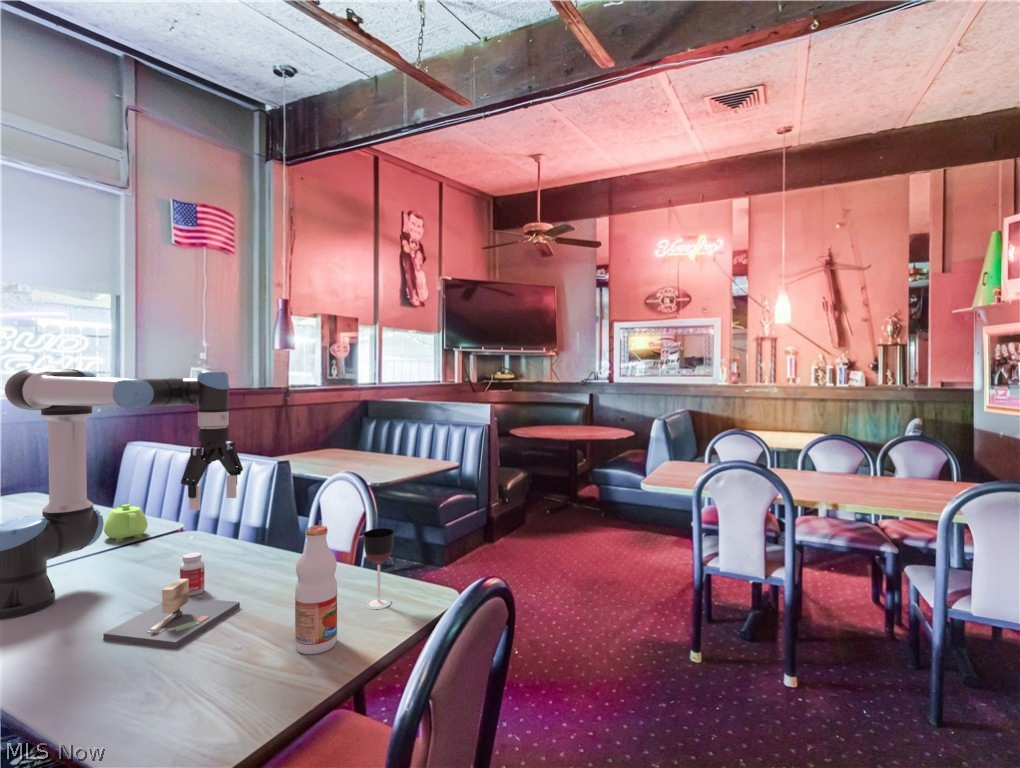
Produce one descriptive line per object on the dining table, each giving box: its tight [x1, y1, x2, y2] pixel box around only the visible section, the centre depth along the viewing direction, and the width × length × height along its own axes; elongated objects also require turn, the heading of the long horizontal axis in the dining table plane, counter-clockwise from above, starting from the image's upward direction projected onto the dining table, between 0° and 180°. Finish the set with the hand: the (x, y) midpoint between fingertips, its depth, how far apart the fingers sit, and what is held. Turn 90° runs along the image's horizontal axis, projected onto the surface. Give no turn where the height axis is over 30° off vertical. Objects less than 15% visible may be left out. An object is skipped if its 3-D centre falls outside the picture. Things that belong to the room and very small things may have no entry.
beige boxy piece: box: [150, 578, 190, 632], centre depth 135 cm, size 12×3×8 cm, turn 0°
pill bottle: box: [179, 551, 205, 597], centre depth 156 cm, size 6×6×11 cm
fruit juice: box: [294, 525, 338, 655], centre depth 127 cm, size 9×9×28 cm
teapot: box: [103, 503, 148, 543], centre depth 206 cm, size 20×13×13 cm
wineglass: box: [363, 527, 395, 607], centre depth 150 cm, size 8×9×20 cm
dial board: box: [102, 596, 241, 649], centre depth 138 cm, size 20×22×2 cm
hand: (214, 503), depth 149 cm, fingers open, 13 cm apart
